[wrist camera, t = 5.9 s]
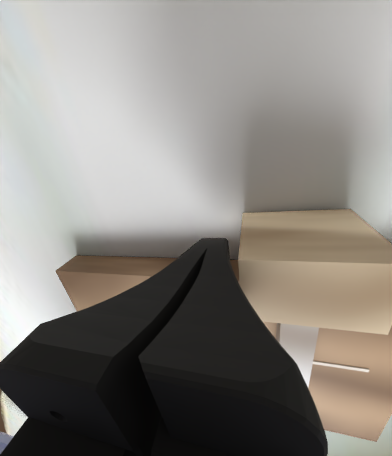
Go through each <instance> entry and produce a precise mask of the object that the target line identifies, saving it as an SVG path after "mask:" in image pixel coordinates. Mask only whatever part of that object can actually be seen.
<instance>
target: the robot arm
mask: <svg viewBox="0 0 392 456" xmlns="http://www.w3.org/2000/svg"><path fill="white" fill-rule="evenodd" d="M0 388H1V390H2V391H3V392H4V393H5V394H6V395H7V396H8V397H9V398H10V399H11V400H12V401H13V402H14V403H15V404H16V405H17V406H18V407H19V408H20V409H21V410H22V411H23V412H24V413H25V414H26V415H27V416H28V419H27V420H26V421H25V422H24V424H23V425H22V426H21V428H20V429H19V430H18V432H17V433H16V434H15V436H14V437H13V436H11V435H8V434H5V433H3V432H0V456H327V454H328V443H327V439H326V435H325V431H324V428H323V425H322V422H321V419H320V416H319V413H318V411H317V408H316V405H315V403H314V400H313V398H312V396H311V393H310V391H309V389H308V387H307V384H306V382H305V380H304V378H303V376H302V374H301V372H300V370H299V367H298V365H297V363H296V362H295V361H294V360H293V358H292V357H291V356H290V355H289V354H288V353H287V352H286V350H285V349H284V348H283V347H282V346H281V345H280V343H279V342H278V341H277V340H276V338H275V337H274V336H273V335H272V333H271V332H270V331H269V330H268V328H267V327H266V326H265V324H264V323H263V322H262V320H261V319H260V317H259V316H258V314H257V313H256V311H255V310H254V308H253V307H252V305H251V304H250V302H249V301H248V299H247V297H246V296H245V294H244V292H243V290H242V289H241V287H240V285H239V283H238V281H237V278H236V276H235V274H234V271H233V269H232V266H231V263H230V257H229V245H228V240H227V239H226V238H202V239H201V240H199V241H198V242H197V243H196V244H194V245H193V246H192V247H191V248H190V249H188V250H187V251H186V252H185V253H184V254H182V255H181V256H180V257H179V258H177V259H176V260H175V261H173V262H172V263H171V264H169V265H168V266H167V267H165V268H164V269H162V270H161V271H159V272H158V273H156V274H155V275H153V276H152V277H150V278H148V279H147V280H145V281H143V282H142V283H140V284H138V285H136V286H134V287H132V288H130V289H128V290H126V291H124V292H122V293H120V294H118V295H116V296H114V297H112V298H110V299H107V300H105V301H103V302H100V303H98V304H95V305H93V306H91V307H88V308H85V309H83V310H80V311H77V312H75V313H72V314H69V315H66V316H63V317H60V318H57V319H54V320H51V321H48V322H45V323H42V324H40V325H39V326H38V327H37V328H36V329H35V330H34V331H33V332H32V333H30V334H29V335H28V336H27V337H26V338H25V339H24V340H23V341H22V342H21V343H20V344H19V345H18V346H17V347H16V348H15V349H14V350H13V351H12V352H11V353H10V354H8V355H7V356H6V357H5V358H4V359H3V360H2V361H1V362H0Z"/></svg>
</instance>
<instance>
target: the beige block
mask: <svg viewBox="0 0 392 456" xmlns="http://www.w3.org/2000/svg"><path fill="white" fill-rule="evenodd" d="M238 267H239V284H240V287H241V289H242V290H243V292H244V294H245V296H246V297H247V299H248V301H249V302H250V304H251V305H252V307H253V308H254V310H255V311H256V313H257V314H258V316H259V317H260V319H261V320H262V322H272V323H277V330H276V340H277V341H278V342H279V343H280V345H281V346H282V347H283V348H284V349H285V350H286V352H287V353H288V354H289V355H290V356H291V357H292V358H293V360H294V361H295V362H296V363H297V365H298V367H299V370H300V372H301V374H302V376H303V378H304V380H305V382H306V384H307V387H309V381H310V376H311V370H312V364H313V359H314V353H315V348H316V342H317V337H318V331H319V328H328V329H337V330H347V331H356V332H366V333H375V334H385V335H388V333H389V331H390V328H391V326H392V244H391V243H390V242H389V241H388V240H387V239H385V238H384V237H383V236H382V235H381V234H379V233H378V232H377V231H376V230H375V229H374V228H372V227H371V226H370V225H369V224H368V223H366V222H365V221H364V220H363V219H362V218H361V217H359V216H358V215H357V214H356V213H355V212H354V211H352V210H351V209H336V210H308V211H280V212H253V213H243V216H242V226H241V236H240V246H239V256H238Z"/></svg>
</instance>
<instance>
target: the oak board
mask: <svg viewBox="0 0 392 456" xmlns="http://www.w3.org/2000/svg"><path fill="white" fill-rule="evenodd" d="M176 259H177V258H154V257H117V256H80V255H76V256H75V257H73V258H72V259H71V260H69V261H68V262H67V263H65V264H64V265H63V266H61V267H60V268H59V269H57V270H56V273H57V275H58V277H59V279H60V280H61V282H62V284H63V286H64V288H65V290H66V292H67V294H68V295H69V297H70V299H71V301H72V303H73V305H74V307H75V309H76V310H77V311H80V310H83V309H85V308H88V307H91V306H93V305H95V304H98V303H100V302H103V301H105V300H107V299H110V298H112V297H114V296H116V295H118V294H120V293H122V292H124V291H126V290H128V289H130V288H132V287H134V286H136V285H138V284H140V283H142V282H143V281H145V280H147V279H148V278H150V277H152V276H153V275H155V274H156V273H158V272H159V271H161V270H162V269H164V268H165V267H167V266H168V265H169V264H171V263H172V262H173V261H175V260H176ZM230 263H231V266H232V269H233V271H234V274H235V276H236V278H237V281H238V283H239V267H238V260H230ZM239 285H240V284H239ZM263 323H264V324H265V326H266V327H267V328H268V330H269V331H270V332H271V333H272V335H273V336H274V337H275V338H276V330H277V323H272V322H263ZM308 389H309V391H310V393H311V396H312V398H313V400H314V403H315V405H316V408H317V411H318V413H319V416H320V419H321V422H322V425H323V428H324V430H327V431H331V432H336V433H340V434H344V435H349V436H353V437H357V438H362V439H366V440H371V441H375V442H377V440H378V438H379V436H380V434H381V433H382V431H383V429H384V427H385V425H386V424H387V422H388V420H389V418H390V416H391V414H392V326H391V328H390V331H389V333H388V335H385V334H375V333H366V332H356V331H347V330H337V329H328V328H319V331H318V337H317V342H316V348H315V353H314V359H313V364H312V370H311V376H310V381H309V387H308Z"/></svg>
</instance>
